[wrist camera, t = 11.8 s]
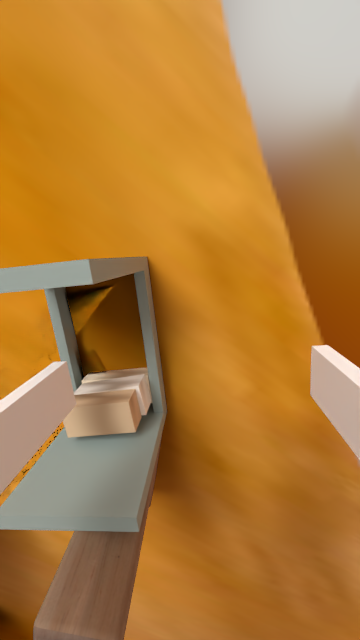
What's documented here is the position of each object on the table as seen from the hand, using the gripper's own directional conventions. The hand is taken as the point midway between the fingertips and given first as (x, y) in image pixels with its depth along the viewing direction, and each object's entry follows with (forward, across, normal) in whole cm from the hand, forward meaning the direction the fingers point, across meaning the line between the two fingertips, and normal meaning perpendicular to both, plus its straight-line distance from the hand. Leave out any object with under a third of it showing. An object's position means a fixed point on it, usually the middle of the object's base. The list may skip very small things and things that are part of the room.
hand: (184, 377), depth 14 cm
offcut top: (+8, -9, -7) cm, 14 cm away
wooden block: (+13, -8, -15) cm, 22 cm away
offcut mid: (+11, -9, -7) cm, 15 cm away
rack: (+13, -9, -2) cm, 16 cm away
